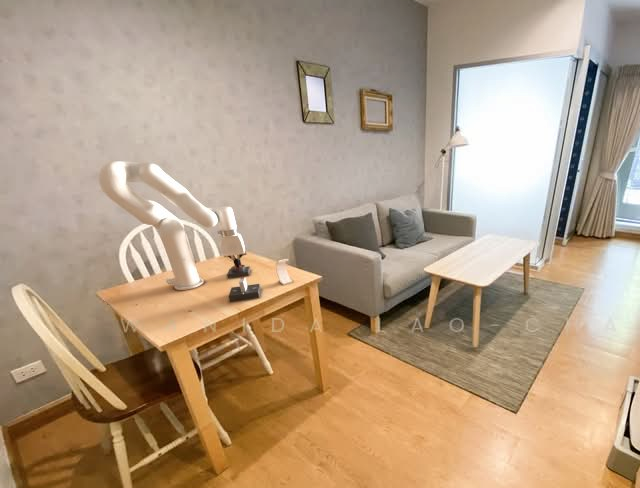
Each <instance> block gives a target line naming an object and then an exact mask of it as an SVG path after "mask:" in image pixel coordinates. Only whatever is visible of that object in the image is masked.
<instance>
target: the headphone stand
mask: <svg viewBox="0 0 640 488" xmlns="http://www.w3.org/2000/svg"><path fill="white" fill-rule="evenodd" d="M287 262H289V258H284V259H280V260H277V261H276V262H275V270H276V274H277V277H278V279H279V280H278V282H279V283H280V284H282V285H283V286H284V285H288V284H291V283H293V280H292V279H291V278H290V276H289V273H288V270H287V266H286V264H287Z"/></svg>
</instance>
